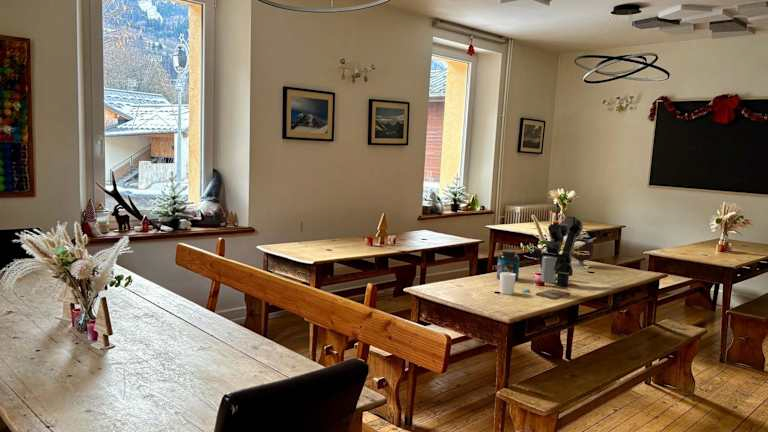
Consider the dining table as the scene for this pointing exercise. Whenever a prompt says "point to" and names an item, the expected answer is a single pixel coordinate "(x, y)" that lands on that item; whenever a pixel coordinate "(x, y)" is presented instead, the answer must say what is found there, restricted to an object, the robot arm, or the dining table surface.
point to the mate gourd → (586, 247)
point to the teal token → (526, 290)
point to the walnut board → (552, 294)
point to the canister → (548, 269)
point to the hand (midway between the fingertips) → (547, 268)
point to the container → (508, 263)
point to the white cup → (507, 283)
